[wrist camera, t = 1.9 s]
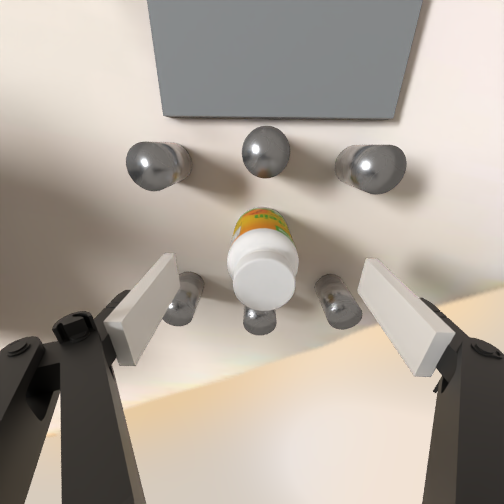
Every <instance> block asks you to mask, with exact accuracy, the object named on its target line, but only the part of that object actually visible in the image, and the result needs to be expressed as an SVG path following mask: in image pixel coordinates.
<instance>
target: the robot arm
mask: <svg viewBox="0 0 504 504" xmlns="http://www.w3.org/2000/svg"><path fill="white" fill-rule="evenodd" d="M179 288H180V281H179V274H178V268H177V261H176V255H175V253H164V254H163V255H162V256H161V257H160V259H159V260H158V261H157V262H156V263H155V264H154V265H153V266H152V268H151V269H150V270H149V271H148V272H147V273H146V274H145V275H144V277H143V278H142V279H141V280H140V281H139V282H138V283H137V284H136V285H135V287H134V288H133V289H132V290H125V291H123V292H122V293H120V294H118V295H117V296H116V297H115V298H114V299H113V300H112V301H111V303H109V304H108V305H107V306H106V308H104V309H103V310H102V311H101V313H100V314H99V315H98V316H97V317H96V318H95V319H93V317H92V315H91V313H90V312H86V311H81V312H76V313H72V314H69V315H67V316H65V317H63V318H62V319H60V320H59V321H57V322H56V323H55V325H54V326H53V329H52V330H53V332H54V334H55V336H56V338H57V340H58V341H56V342H51V343H46V344H42V342H41V340H40V339H39V338H38V337H34V336H32V337H25V338H22V339H19V340H17V341H14V342H12V343H11V344H9V345H7V346H6V347H4V348H3V349H2V350H1V351H0V504H24V503H25V499H26V497H27V494H28V490H29V487H30V484H31V481H32V478H33V475H34V472H35V469H36V466H37V462H38V459H39V456H40V453H41V450H42V447H43V444H44V440H45V437H46V434H47V431H48V428H49V425H50V422H51V419H52V416H53V413H54V409H55V406H56V403H57V400H58V397H59V394H60V395H61V468H62V469H61V471H62V472H61V476H62V504H146V501H145V497H144V493H143V489H142V485H141V481H140V477H139V472H138V468H137V465H136V460H135V456H134V452H133V448H132V444H131V440H130V436H129V432H128V428H127V424H126V420H125V416H124V412H123V408H122V403H121V399H120V395H119V391H118V387H117V383H116V379H115V375H114V371H113V368H112V365H111V364H112V363H113V361H114V360H115V358H116V357H117V360H118V363H119V365H120V366H136V364H137V362H138V360H139V359H140V357H141V355H142V353H143V352H144V350H145V348H146V346H147V345H148V343H149V341H150V339H151V337H152V336H153V334H154V332H155V330H156V329H157V327H158V325H159V323H160V322H161V320H162V318H163V316H164V314H165V313H166V311H167V309H168V307H169V306H170V304H171V302H172V300H173V299H174V297H175V295H176V293H177V291H178V290H179ZM357 292H358V293H359V295H360V296H361V298H362V299H363V301H364V302H365V304H366V305H367V307H368V308H369V310H370V311H371V313H372V314H373V316H374V317H375V319H376V320H377V322H378V323H379V325H380V326H381V327H382V329H383V331H384V332H385V333H386V335H387V336H388V338H389V339H390V341H391V343H392V344H393V345H394V347H395V348H396V350H397V351H398V353H399V354H400V356H401V357H402V359H403V360H404V362H405V363H406V365H407V366H408V368H409V369H410V371H411V372H412V374H413V375H414V376H422V377H431V376H432V374H433V372H434V371H435V369H436V368H437V369H438V371H439V372H440V373H441V374H442V377H441V379H440V380H439V382H438V384H437V385H436V387H435V389H434V390H433V392H435V393H436V392H437V391H438V393H437V401H436V407H435V415H434V422H433V429H432V437H431V444H430V451H429V459H428V466H427V473H426V480H425V487H424V495H423V502H422V504H504V354H503V353H502V352H501V351H500V350H499V349H497V348H496V347H494V346H493V345H491V344H489V343H487V342H485V341H483V340H479V339H476V338H470V337H468V336H467V335H466V334H465V333H464V332H463V331H462V330H461V329H459V327H458V326H456V325H455V324H454V323H453V322H452V321H451V320H450V319H449V318H447V317H446V316H445V315H444V314H443V313H442V312H440V310H439V309H438V308H437V307H436V306H434V305H433V304H432V303H430V302H429V301H427V300H425V299H424V298H418V297H417V296H416V295H415V294H414V293H413V292H412V291H411V290H410V289H409V288H408V287H407V286H406V285H405V284H404V283H403V282H402V281H401V280H400V279H399V278H397V277H396V276H395V275H394V274H393V273H392V272H391V271H390V270H389V269H388V268H387V267H386V266H385V265H384V264H383V263H382V262H381V261H380V260H379V259H378V258H366V260H365V264H364V267H363V271H362V275H361V279H360V282H359V286H358V290H357Z"/></svg>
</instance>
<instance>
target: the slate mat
mask: <svg viewBox="0 0 504 504" xmlns="http://www.w3.org/2000/svg"><path fill="white" fill-rule="evenodd" d="M422 2H423V0H147V4H148V11H149V18H150V25H151V32H152V39H153V46H154V53H155V60H156V67H157V75H158V82H159V89H160V96H161V103H162V110H163V116H166V117H213V118H299V119H384V120H387V119H392V118H393V117H394V113H395V109H396V105H397V101H398V97H399V93H400V89H401V85H402V81H403V77H404V73H405V69H406V66H407V62H408V58H409V54H410V50H411V46H412V42H413V38H414V34H415V30H416V26H417V22H418V18H419V14H420V10H421V6H422Z"/></svg>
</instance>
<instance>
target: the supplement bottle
mask: <svg viewBox="0 0 504 504" xmlns="http://www.w3.org/2000/svg"><path fill="white" fill-rule="evenodd" d="M298 265H299V258H298V253H297V250H296V247H295V245H294V242H293V240H292V237H291V235H290V232H289V229H288V227H287V224H286V222H285V220H284V218H283V217H282V216H281V215H280V214H279V213H278V212H276V211H275V210H273V209H270V208H266V207H257V208H253V209H250V210H248V211H246V212H245V213H244V214H243V215H242V216H241V217H240V218H239V220H238V221H237V223H236V226H235V229H234V233H233V237H232V241H231V245H230V249H229V253H228V259H227V266H228V271H229V274H230V276H231V278H232V280H233V289H234V293H235V295H236V297H237V298H238V300H239V301H240V302H241V303H242V304H244V305H245V306H247V307H249V308H251V309H254V310H259V311H269V310H274V309H277V308H279V307H281V306H283V305H284V304H286V303H287V302H288V301H289V300H290V299H291V297H292V296H293V294H294V291H295V286H296V281H295V276H296V274H297V271H298Z"/></svg>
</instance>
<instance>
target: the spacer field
mask: <svg viewBox="0 0 504 504" xmlns="http://www.w3.org/2000/svg"><path fill="white" fill-rule="evenodd" d="M289 156H290V146H289V143H288V140H287V138H286V136H285V135H284V134H283V133H282V132H281V131H280V130H279V129H277V128H275V127H272V126H261V127H258V128H256V129H254V130H253V131H252V132H251V133H250V134H249V135H248V136H247V137H246V139H245V141H244V144H243V148H242V158H243V162H244V164H245V166H246V168H247V169H248V170H249V172H251V173H252V174H253V175H255V176H257V177H260V178H271V177H274V176H276V175H278V174H279V173H280V172H282V171H283V169H284V168H285V167H286V165H287V163H288V160H289ZM126 166H127V170H128V172H129V175H130V176H131V178H132V179H133V181H134V182H135V183H136V184H137V185H139V186H140V187H142V188H143V189H146V190H149V191H160V190H162V189H165V188H167V187H169V186H171V185H173V184H175V183H177V182H179V181H181V180H183V179H185V178H186V177H187V176H188V175H189V174H190V172H191V168H192V161H191V158H190V155H189V153H188V152H187V150H186V149H185V148H184V147H182V146H181V145H179V144H176V143H168V142H140V143H137V144H135V145H134V146H132V147H131V148H130V150H129V152H128V154H127V157H126ZM405 171H406V157H405V155H404V153H403V151H402V150H401V149H400V148H398V147H396V146H393V145H352V146H349V147H347V148H346V149H344V150H343V151H342V152H341V153H340V154H339V156H338V157H337V159H336V162H335V173H336V176H337V177H338V179H339V180H340V181H342V182H344V183H346V184H349V185H351V186H353V187H356V188H358V189H360V190H363V191H365V192H368V193H370V194H383V193H386V192H388V191H390V190H391V189H393V188H394V187H395V186H396V185H397V184H398V183H399V182H400V181H401V179H402V178H403V176H404V174H405ZM179 281H180V288H179V290H178V291H177V293H176V295H175V297H174V299H173V300H172V302H171V304H170V306H169V307H168V309H167V311H166V313H165V314H164V316H163V318H162V319H163V320H164V321H165V322H166V323H168V324H170V325H173V326H184V325H186V324H188V323H190V322H191V320H192V318H193V315H194V312H195V310H196V307H197V304H198V302H199V299H200V296H201V293H202V291H203V288H204V282H203V280H202V278H201V277H200V276H199V275H197V274H196V273H193V272H184V273H181V274H180V275H179ZM315 291H316V293H317V296H318V298H319V301H320V303H321V305H322V308H323V310H324V313H325V315H326V318H327V320H328V322H329V324H330V325H331V326H332V327H334V328H336V329H348V328H351V327H353V326H355V325H356V324H358V323H359V321H360V320H361V318H362V310H361V309H360V307H359V306H358V304H357V302H356V301H355V299H354V298H353V296H352V295H351V293H350V292H349V290H348V288H347V287H346V285H345V284H344V282H343V281H342V279H341V278H340V277H339V276H337V275H333V274H329V275H325V276H322V277H321V278H320V279H318V281H317V282H316V284H315ZM243 324H244V327H245V329H246V330H247V331H248V332H250V333H251V334H254V335H265V334H268V333H270V332H272V331H273V330H274V329H275V327H276V314H275V309H274V310H269V311H259V310H254V309H251V308H249V307H247V306H244V320H243Z"/></svg>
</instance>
